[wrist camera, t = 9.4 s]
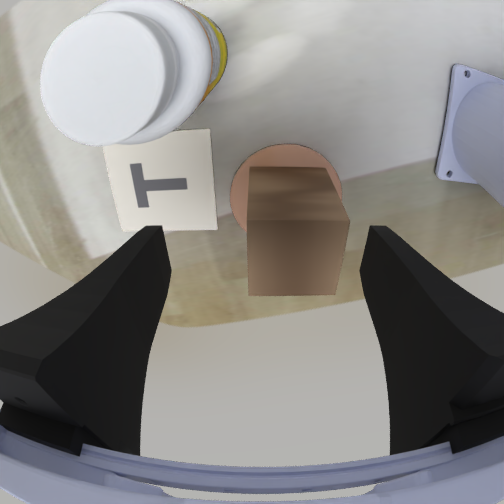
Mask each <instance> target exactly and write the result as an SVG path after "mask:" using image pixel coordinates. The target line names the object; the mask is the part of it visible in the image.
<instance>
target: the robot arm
mask: <svg viewBox="0 0 504 504" xmlns="http://www.w3.org/2000/svg"><path fill="white" fill-rule="evenodd" d="M465 71H467V76H466V77H465V75H464V72H465ZM448 171H450V173H449V174H448V175H446V174H447V172H448ZM435 173H436V176H437V177H438V178H439V179H441V180H449V181H458V182H466V183H473V184H479V185H480V186H482V187H483V188H484V189H485V190H486V191H487V192H488V193H489V194H490V195H491V196H492V197H493V198H494V199H495V200H496V201H497V202H498V203H499V204H500V205H501V206H502V207H503V208H504V80H503V79H501V78H498V77H495V76H493V75H490V74H487V73H485V72H482V71H479V70H476V69H473V68H470V67H467V66H464V65H461V64H455V65H454V66H453V69H452V77H451V85H450V93H449V101H448V108H447V114H446V120H445V126H444V132H443V137H442V142H441V147H440V152H439V157H438V162H437V166H436V171H435ZM171 271H172V270H171V265H170V261H169V256H168V252H167V247H166V242H165V237H164V232H163V227H162V225H150V226H145V227H143V228H142V229H141V230H140V231H138V232H137V233H136V234H135V235H134V236H133V237H131V238H130V239H129V240H128V241H127V242H126V243H125V244H123V245H122V246H121V247H120V248H119V249H118V250H117V251H116V252H114V253H113V254H112V255H111V256H110V257H109V258H108V259H106V260H105V261H104V262H103V263H102V264H100V265H99V266H98V267H97V268H96V269H94V270H93V271H92V272H91V273H90V274H88V275H87V276H86V277H84V278H83V279H82V280H80V281H79V282H78V283H76V284H75V285H74V286H72V287H71V288H69V289H68V290H67V291H65V292H64V293H62V294H61V295H59V296H57V297H56V298H54V299H52V300H51V301H49V302H48V303H46V304H44V305H43V306H41V307H39V308H37V309H36V310H34V311H32V312H30V313H28V314H26V315H24V316H23V317H20V318H18V319H16V320H14V321H12V322H10V323H7V324H5V325H3V326H0V400H2V401H3V402H4V403H3V405H2V408H1V409H0V488H1V489H2V490H4V491H6V492H7V493H9V494H11V495H12V496H14V497H16V498H18V499H19V500H21V501H23V502H25V503H27V504H496V503H498V502H499V501H501V500H503V499H504V313H502V312H500V311H498V310H497V309H495V308H493V307H491V306H490V305H488V304H486V303H485V302H483V301H482V300H480V299H478V298H477V297H475V296H474V295H472V294H470V293H469V292H467V291H466V290H465V289H463V288H462V287H460V286H459V285H458V284H456V283H455V282H453V281H452V280H451V279H449V278H448V277H447V276H446V275H444V274H443V273H442V272H441V271H439V270H438V269H437V268H436V267H434V266H433V265H432V264H431V263H430V262H428V261H427V260H426V259H425V258H424V257H423V256H421V255H420V254H419V253H418V252H417V251H416V250H414V249H413V248H412V247H411V246H410V245H409V244H408V243H406V242H405V241H404V240H403V239H402V238H401V237H399V236H398V235H397V234H396V233H395V232H393V231H392V230H391V229H389V228H388V227H387V226H370V227H369V232H368V237H367V241H366V245H365V250H364V254H363V258H362V262H361V267H360V276H361V282H362V287H363V292H364V296H365V299H366V302H367V305H368V308H369V312H370V315H371V318H372V321H373V324H374V327H375V330H376V334H377V337H378V340H379V344H380V347H381V351H382V356H383V361H384V367H385V374H386V381H387V390H388V400H389V415H390V455H389V456H383V457H378V458H372V459H366V460H358V461H350V462H342V463H333V464H322V465H309V466H290V467H237V466H218V465H204V464H192V463H184V462H175V461H168V460H161V459H154V458H147V457H142V456H140V432H141V430H140V429H141V415H142V402H143V394H144V385H145V378H146V371H147V365H148V359H149V354H150V350H151V346H152V342H153V339H154V336H155V333H156V329H157V326H158V323H159V320H160V317H161V313H162V310H163V307H164V304H165V301H166V297H167V294H168V288H169V283H170V277H171ZM387 481H388V482H387ZM141 482H143V483H141ZM382 482H384V483H382ZM145 483H149V484H154V485H160V486H167V487H173V488H180V489H188V490H189V489H190V490H199V491H208V492H223V493H242V494H281V493H282V494H283V493H304V492H317V491H327V490H337V489H345V488H351V487H358V486H365V485H371V484H377V483H381V484H377V485H376V486H375V487H374V489H373V490H371V491H369V492H368V493H365V494H363V495H359V496H351V497H341V498H329V499H317V500H299V501H270V502H269V501H268V502H266V501H265V502H264V501H262V502H261V501H260V502H259V501H255V502H252V501H251V502H250V501H248V502H247V501H246V502H245V501H217V500H216V501H215V500H198V499H186V498H176V497H173V496H170V495H168V494H166V493H164V492H163V490H162V489H161V488H160V487H156V486H152V485H149V484H145Z"/></svg>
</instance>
